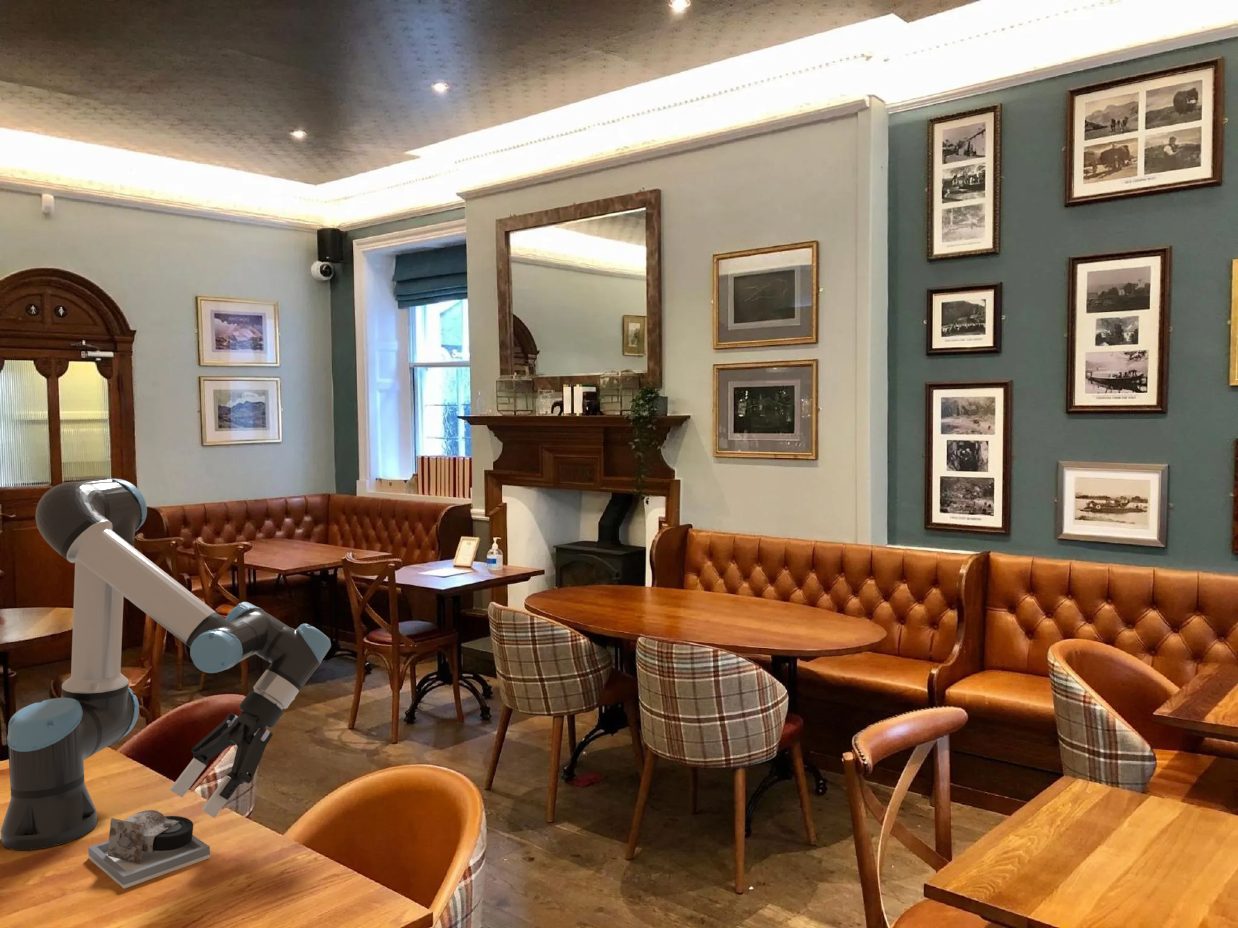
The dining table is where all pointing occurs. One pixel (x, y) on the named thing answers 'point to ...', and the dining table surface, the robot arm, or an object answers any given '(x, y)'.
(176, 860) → the shallow rectangular tray
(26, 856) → the dining table surface
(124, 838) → the caster wheel
